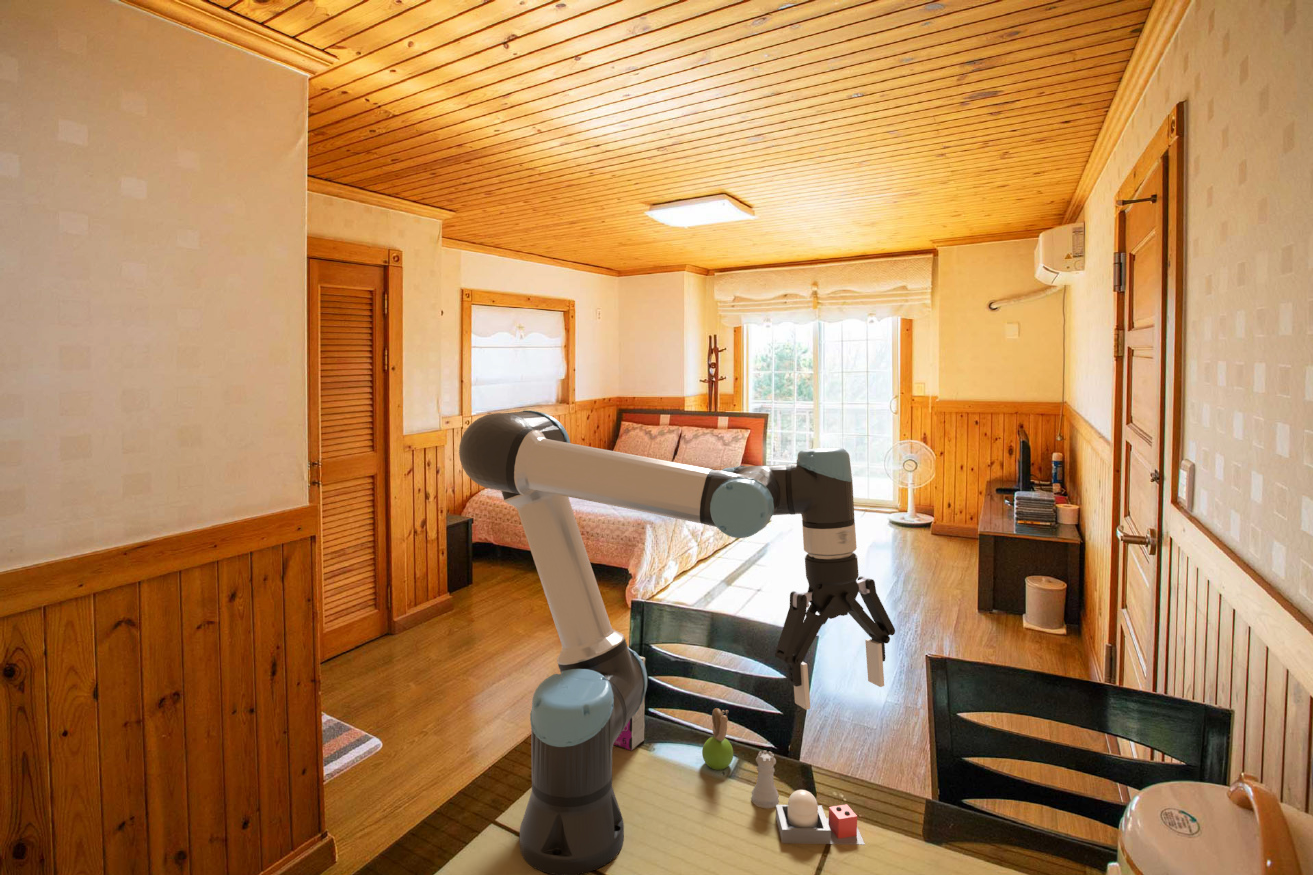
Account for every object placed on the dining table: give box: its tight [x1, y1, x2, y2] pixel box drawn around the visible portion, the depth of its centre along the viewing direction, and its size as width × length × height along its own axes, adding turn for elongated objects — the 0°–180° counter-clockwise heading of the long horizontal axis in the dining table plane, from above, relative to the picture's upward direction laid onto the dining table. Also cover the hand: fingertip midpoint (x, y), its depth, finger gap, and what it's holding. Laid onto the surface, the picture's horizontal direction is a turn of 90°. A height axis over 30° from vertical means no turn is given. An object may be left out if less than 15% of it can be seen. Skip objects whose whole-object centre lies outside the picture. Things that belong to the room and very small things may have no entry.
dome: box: [787, 789, 818, 828], centre depth 102 cm, size 4×4×4 cm
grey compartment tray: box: [775, 803, 866, 846], centre depth 103 cm, size 12×6×4 cm, turn 89°
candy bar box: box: [613, 655, 646, 752], centre depth 130 cm, size 11×5×16 cm, turn 60°
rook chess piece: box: [750, 750, 780, 809], centre depth 110 cm, size 4×4×8 cm
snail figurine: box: [701, 707, 734, 771], centre depth 120 cm, size 5×6×12 cm
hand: (840, 694), depth 102 cm, fingers open, 13 cm apart
